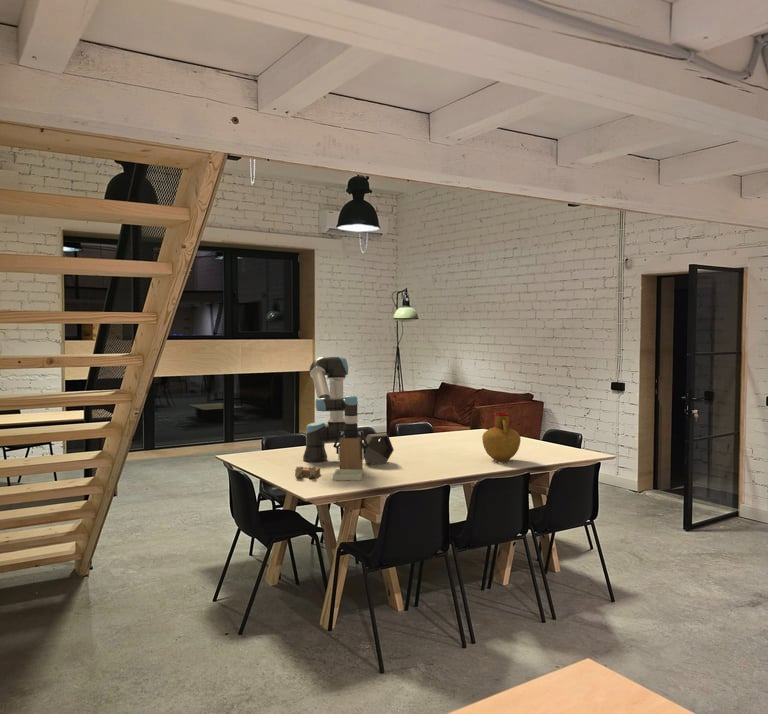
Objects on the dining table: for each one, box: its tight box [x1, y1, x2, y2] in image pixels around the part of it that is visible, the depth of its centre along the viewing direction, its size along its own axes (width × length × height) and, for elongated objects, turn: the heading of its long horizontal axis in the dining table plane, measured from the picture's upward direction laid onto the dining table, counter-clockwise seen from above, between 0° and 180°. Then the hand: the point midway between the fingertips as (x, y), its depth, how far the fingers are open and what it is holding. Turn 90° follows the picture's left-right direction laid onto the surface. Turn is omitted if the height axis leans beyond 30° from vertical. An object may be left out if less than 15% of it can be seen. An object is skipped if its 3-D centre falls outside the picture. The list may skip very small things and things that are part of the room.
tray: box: [332, 468, 364, 482], centre depth 366 cm, size 15×15×3 cm
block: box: [339, 436, 364, 471], centre depth 381 cm, size 10×10×20 cm
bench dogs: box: [295, 466, 317, 480], centre depth 364 cm, size 4×11×6 cm, turn 88°
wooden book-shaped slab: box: [294, 466, 321, 478], centre depth 372 cm, size 8×12×4 cm, turn 79°
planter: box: [363, 433, 395, 466], centre depth 407 cm, size 17×8×21 cm
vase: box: [481, 412, 521, 463], centre depth 419 cm, size 24×24×30 cm
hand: (351, 459), depth 381 cm, fingers closed on block, 13 cm apart
